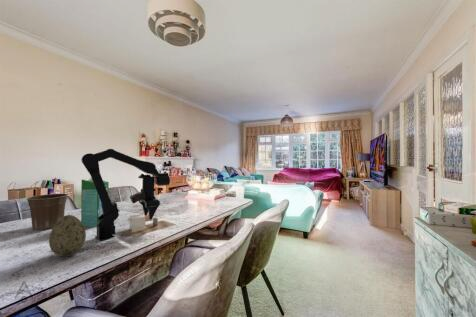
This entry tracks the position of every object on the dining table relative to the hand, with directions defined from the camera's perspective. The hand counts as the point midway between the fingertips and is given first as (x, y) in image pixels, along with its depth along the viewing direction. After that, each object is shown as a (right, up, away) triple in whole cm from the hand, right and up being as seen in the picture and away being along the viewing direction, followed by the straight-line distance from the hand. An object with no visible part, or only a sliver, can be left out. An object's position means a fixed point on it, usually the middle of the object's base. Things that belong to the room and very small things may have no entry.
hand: (148, 217), depth 109 cm
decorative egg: (-18, -6, -29) cm, 35 cm away
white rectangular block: (-3, -5, -2) cm, 6 cm away
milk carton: (-33, -6, +8) cm, 34 cm away
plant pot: (-54, -6, +3) cm, 55 cm away
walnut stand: (+1, -6, 0) cm, 6 cm away
